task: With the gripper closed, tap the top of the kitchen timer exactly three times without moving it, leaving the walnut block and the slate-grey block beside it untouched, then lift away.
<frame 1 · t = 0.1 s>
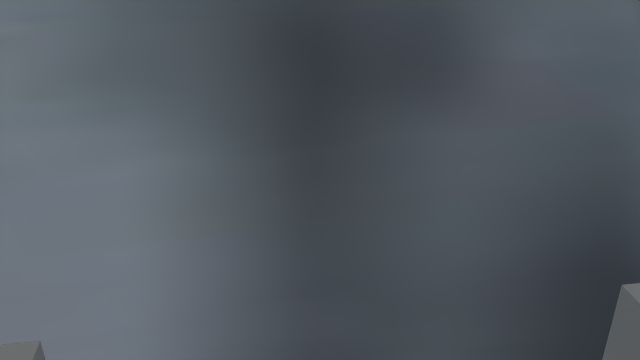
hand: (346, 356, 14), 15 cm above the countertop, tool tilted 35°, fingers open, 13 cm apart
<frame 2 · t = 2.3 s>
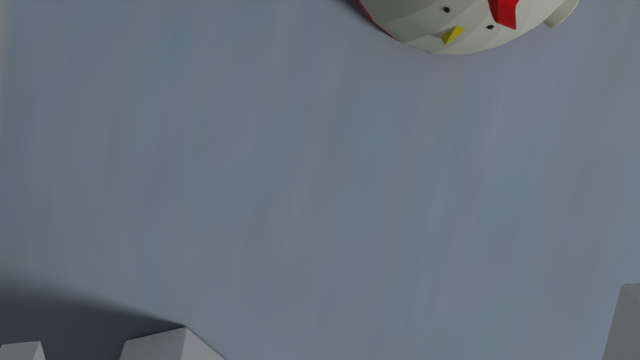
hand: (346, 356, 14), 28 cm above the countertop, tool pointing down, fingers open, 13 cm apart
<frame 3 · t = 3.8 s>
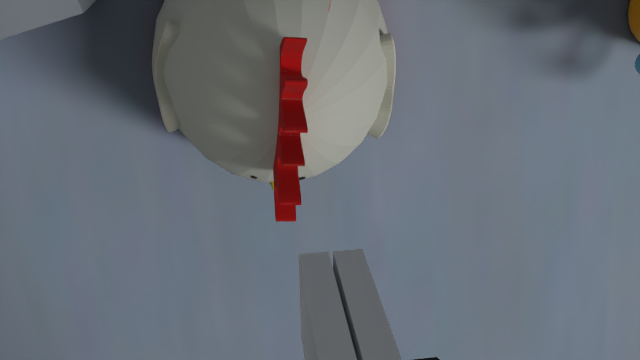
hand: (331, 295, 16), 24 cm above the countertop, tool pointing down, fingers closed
kitchen timer: (271, 50, 38), on the countertop
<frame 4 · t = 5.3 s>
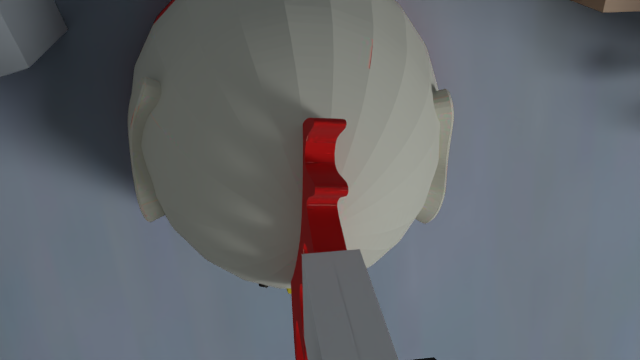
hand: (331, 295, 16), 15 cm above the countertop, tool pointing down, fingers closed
kitchen timer: (283, 101, 30), on the countertop, touching gripper
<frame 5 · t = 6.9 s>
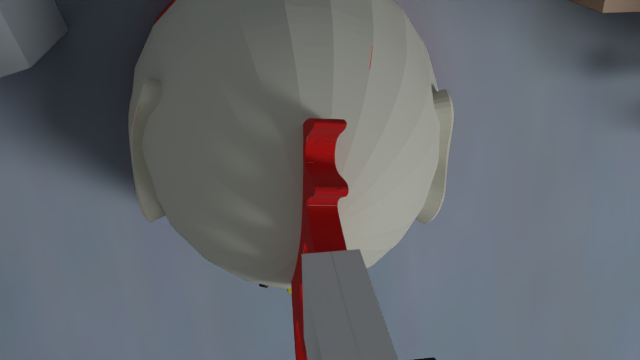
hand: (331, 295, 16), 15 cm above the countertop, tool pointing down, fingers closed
kitchen timer: (283, 101, 30), on the countertop
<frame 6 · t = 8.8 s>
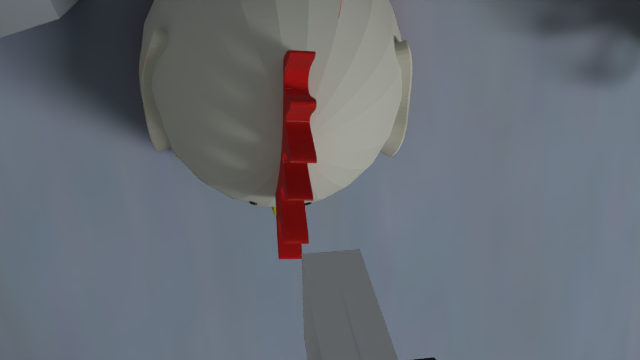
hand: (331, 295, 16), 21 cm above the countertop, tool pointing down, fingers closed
kitchen timer: (271, 57, 34), on the countertop
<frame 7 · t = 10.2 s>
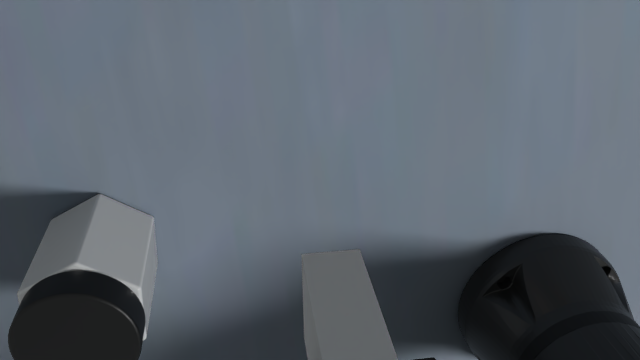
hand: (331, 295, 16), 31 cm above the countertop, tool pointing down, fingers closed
jar: (106, 239, 50), on the countertop
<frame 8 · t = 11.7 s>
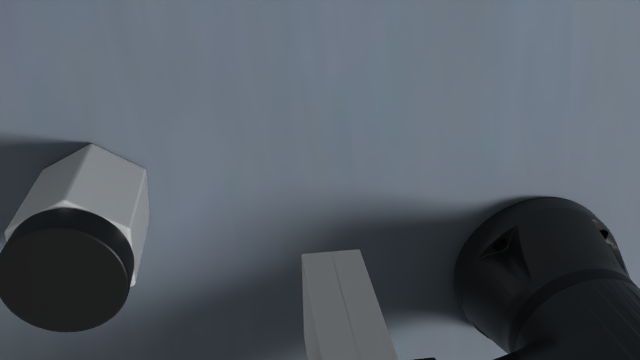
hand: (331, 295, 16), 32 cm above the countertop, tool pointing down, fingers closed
jar: (98, 192, 49), on the countertop
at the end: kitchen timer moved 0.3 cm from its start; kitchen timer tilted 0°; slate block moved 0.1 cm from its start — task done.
